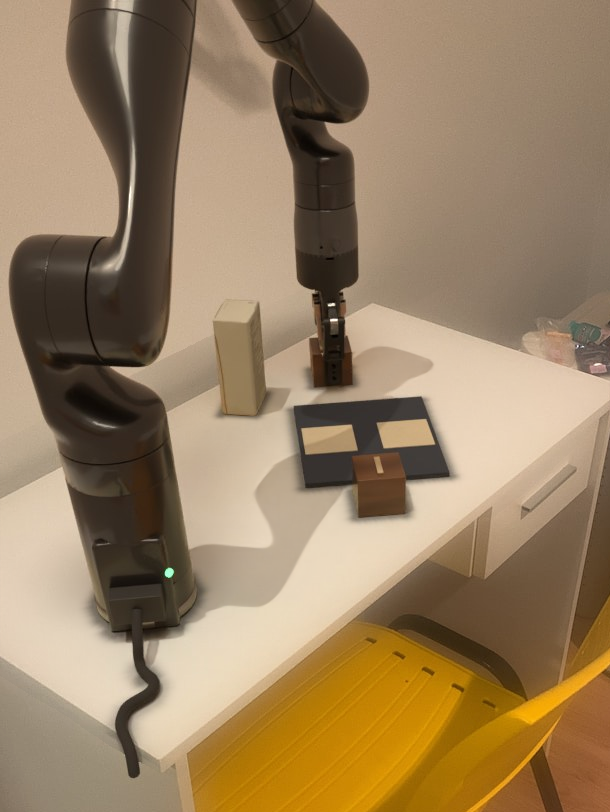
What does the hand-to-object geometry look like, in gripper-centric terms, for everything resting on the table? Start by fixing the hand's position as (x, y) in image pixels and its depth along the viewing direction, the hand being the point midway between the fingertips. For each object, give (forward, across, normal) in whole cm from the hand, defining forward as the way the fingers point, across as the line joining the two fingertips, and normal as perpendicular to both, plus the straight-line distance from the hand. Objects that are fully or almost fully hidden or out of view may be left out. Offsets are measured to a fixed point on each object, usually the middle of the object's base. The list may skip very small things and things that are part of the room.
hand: (331, 374), depth 125 cm
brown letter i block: (0, +30, +2) cm, 30 cm away
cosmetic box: (+1, +6, -11) cm, 13 cm away
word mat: (0, +17, +2) cm, 17 cm away
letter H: (0, 0, 0) cm, 0 cm away
